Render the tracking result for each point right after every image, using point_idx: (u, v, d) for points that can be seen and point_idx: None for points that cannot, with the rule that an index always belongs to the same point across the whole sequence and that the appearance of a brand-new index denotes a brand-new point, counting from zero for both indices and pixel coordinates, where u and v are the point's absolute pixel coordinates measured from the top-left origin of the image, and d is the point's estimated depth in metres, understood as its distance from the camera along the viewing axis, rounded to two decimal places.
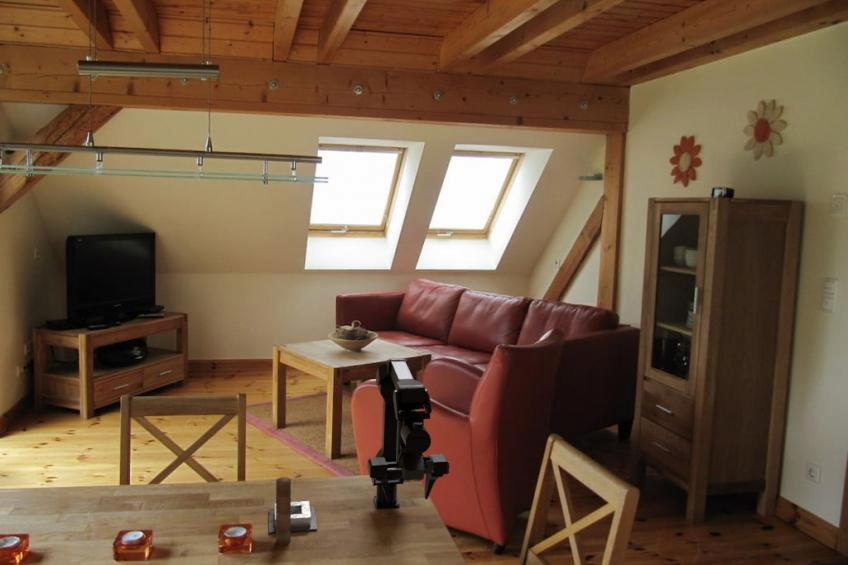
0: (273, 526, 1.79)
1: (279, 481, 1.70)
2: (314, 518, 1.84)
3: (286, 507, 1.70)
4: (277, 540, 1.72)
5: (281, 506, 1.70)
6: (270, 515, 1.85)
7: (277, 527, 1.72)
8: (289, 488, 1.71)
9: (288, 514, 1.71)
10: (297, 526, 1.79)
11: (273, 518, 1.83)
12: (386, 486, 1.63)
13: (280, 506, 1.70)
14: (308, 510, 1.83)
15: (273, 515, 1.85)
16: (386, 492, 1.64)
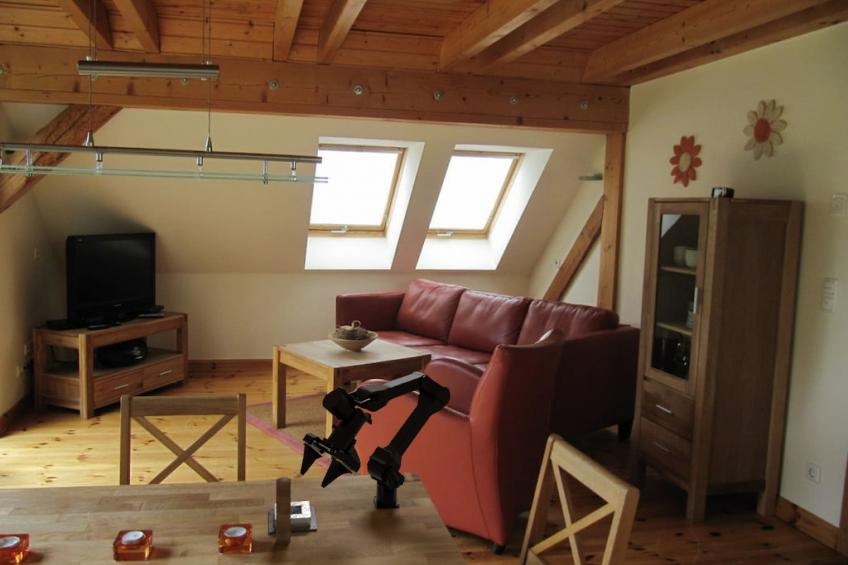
0: (273, 526, 1.79)
1: (279, 481, 1.70)
2: (314, 518, 1.84)
3: (286, 507, 1.70)
4: (277, 540, 1.72)
5: (281, 506, 1.70)
6: (270, 515, 1.85)
7: (277, 527, 1.72)
8: (289, 488, 1.71)
9: (288, 514, 1.71)
10: (297, 526, 1.79)
11: (273, 518, 1.83)
12: None
13: (280, 506, 1.70)
14: (308, 510, 1.83)
15: (273, 515, 1.85)
16: None
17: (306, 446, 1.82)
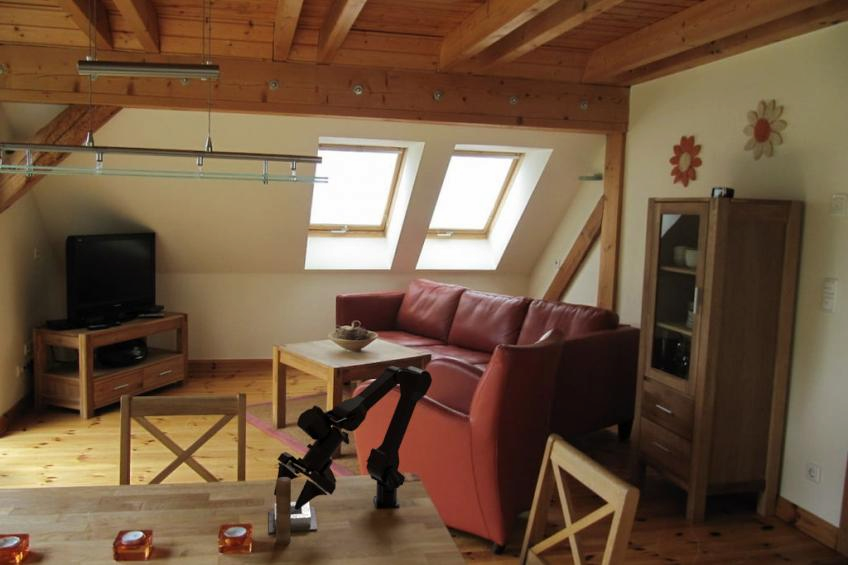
0: (273, 526, 1.79)
1: (279, 481, 1.70)
2: (314, 518, 1.84)
3: (286, 507, 1.70)
4: (277, 540, 1.72)
5: (281, 506, 1.70)
6: (270, 515, 1.85)
7: (277, 527, 1.72)
8: (289, 488, 1.71)
9: (288, 514, 1.71)
10: (297, 526, 1.79)
11: (273, 518, 1.83)
12: None
13: (280, 506, 1.70)
14: (308, 510, 1.83)
15: (273, 515, 1.85)
16: None
17: (281, 466, 1.77)
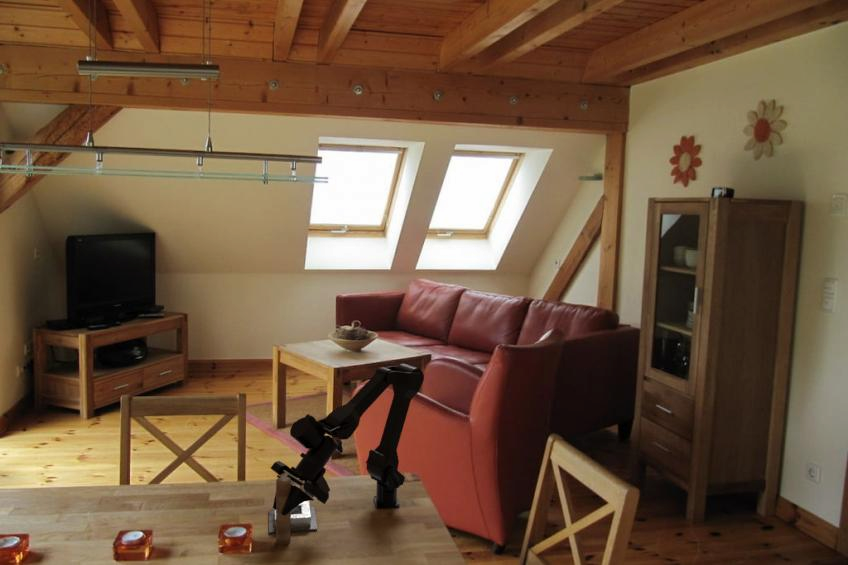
0: (273, 526, 1.79)
1: (279, 481, 1.70)
2: (314, 518, 1.84)
3: None
4: (277, 540, 1.72)
5: (281, 506, 1.70)
6: (270, 515, 1.85)
7: (277, 527, 1.72)
8: (289, 488, 1.71)
9: (288, 514, 1.71)
10: (297, 526, 1.79)
11: (273, 518, 1.83)
12: None
13: (280, 506, 1.70)
14: (308, 510, 1.83)
15: (273, 515, 1.85)
16: None
17: None
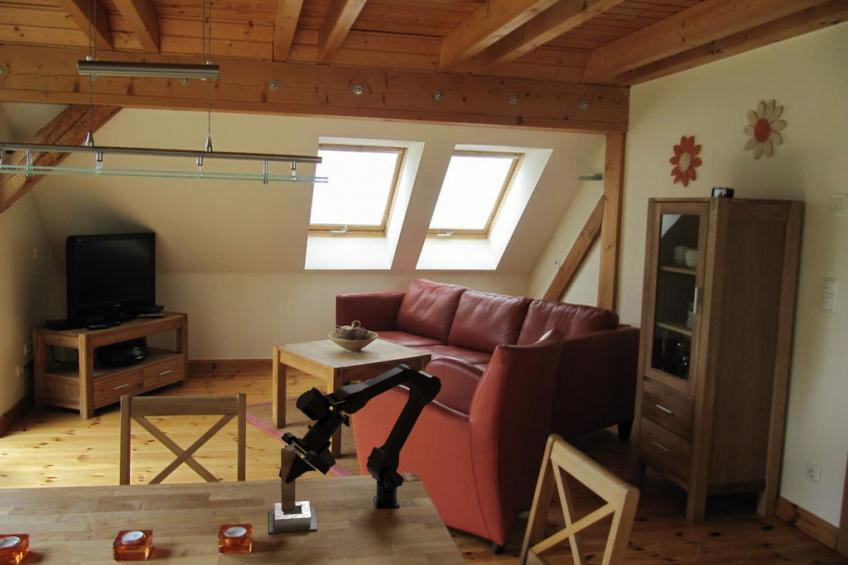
0: (273, 526, 1.79)
1: (283, 450, 1.76)
2: (314, 518, 1.84)
3: None
4: (282, 507, 1.78)
5: (285, 475, 1.76)
6: (270, 515, 1.85)
7: (282, 495, 1.77)
8: (293, 458, 1.76)
9: (292, 483, 1.76)
10: (297, 526, 1.79)
11: (273, 518, 1.83)
12: None
13: (284, 475, 1.76)
14: (308, 510, 1.83)
15: (273, 515, 1.85)
16: None
17: None
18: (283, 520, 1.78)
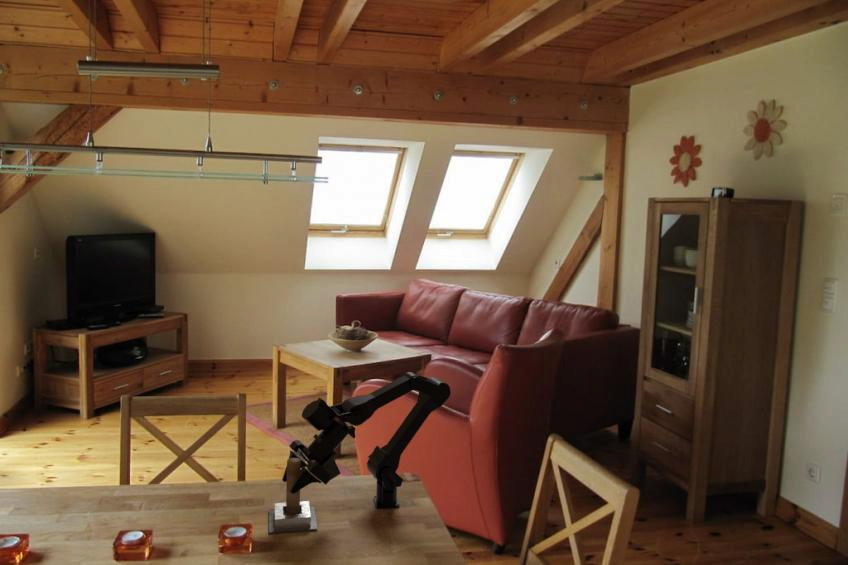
0: (273, 526, 1.79)
1: (289, 461, 1.81)
2: (314, 518, 1.84)
3: None
4: None
5: (289, 485, 1.81)
6: (270, 515, 1.85)
7: (286, 504, 1.82)
8: (298, 469, 1.80)
9: (296, 493, 1.81)
10: (297, 526, 1.79)
11: (273, 518, 1.83)
12: None
13: (288, 485, 1.81)
14: (308, 510, 1.83)
15: (273, 515, 1.85)
16: None
17: (291, 454, 1.86)
18: (283, 520, 1.78)
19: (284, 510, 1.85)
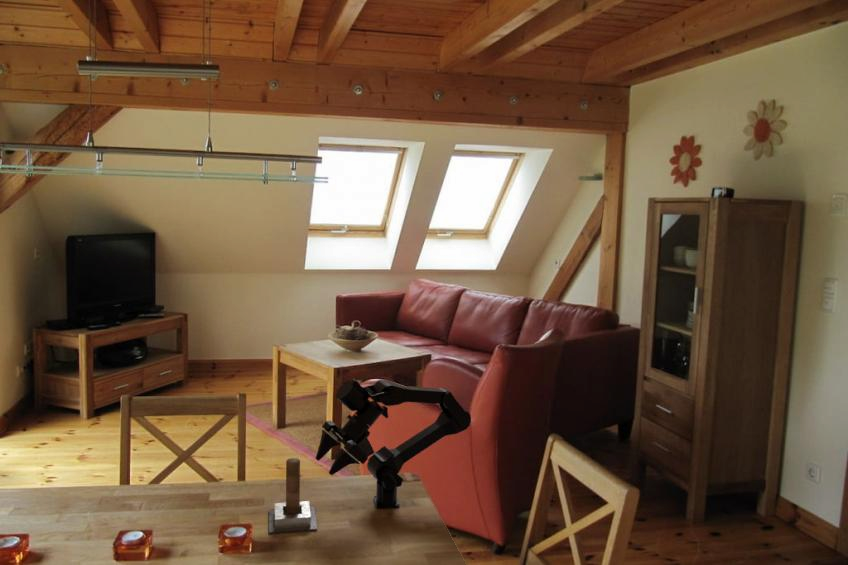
0: (273, 526, 1.79)
1: (288, 461, 1.81)
2: (314, 518, 1.84)
3: (293, 487, 1.80)
4: None
5: (289, 485, 1.80)
6: (270, 515, 1.85)
7: (286, 504, 1.82)
8: (297, 469, 1.80)
9: (296, 493, 1.81)
10: (297, 526, 1.79)
11: (273, 518, 1.83)
12: None
13: (288, 485, 1.81)
14: (308, 510, 1.83)
15: (273, 515, 1.85)
16: None
17: (323, 433, 1.90)
18: (283, 520, 1.78)
19: (284, 510, 1.85)
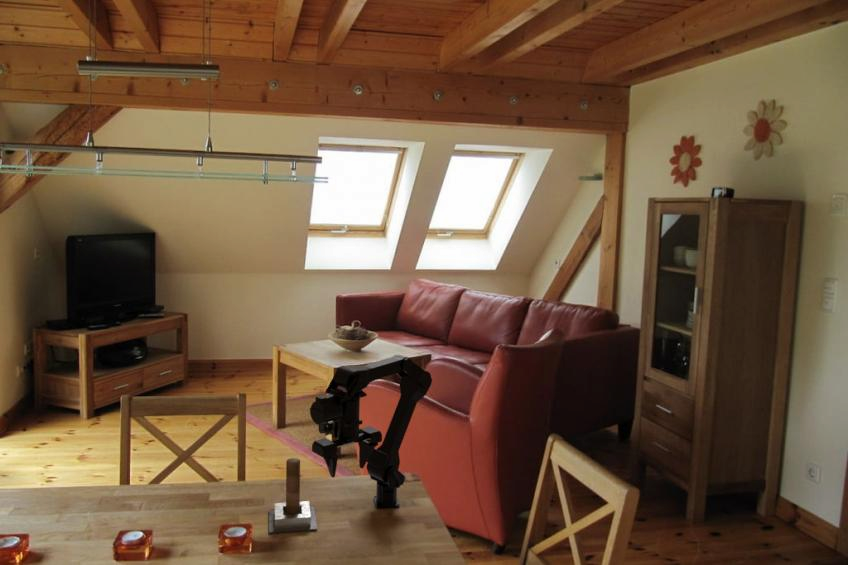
0: (273, 526, 1.79)
1: (289, 461, 1.81)
2: (314, 518, 1.84)
3: (293, 487, 1.80)
4: None
5: (289, 485, 1.80)
6: (270, 515, 1.85)
7: (286, 504, 1.82)
8: (297, 469, 1.80)
9: (296, 493, 1.81)
10: (297, 526, 1.79)
11: (273, 518, 1.83)
12: None
13: (288, 485, 1.81)
14: (308, 510, 1.83)
15: (273, 515, 1.85)
16: None
17: (334, 458, 1.76)
18: (283, 520, 1.78)
19: (284, 510, 1.85)
